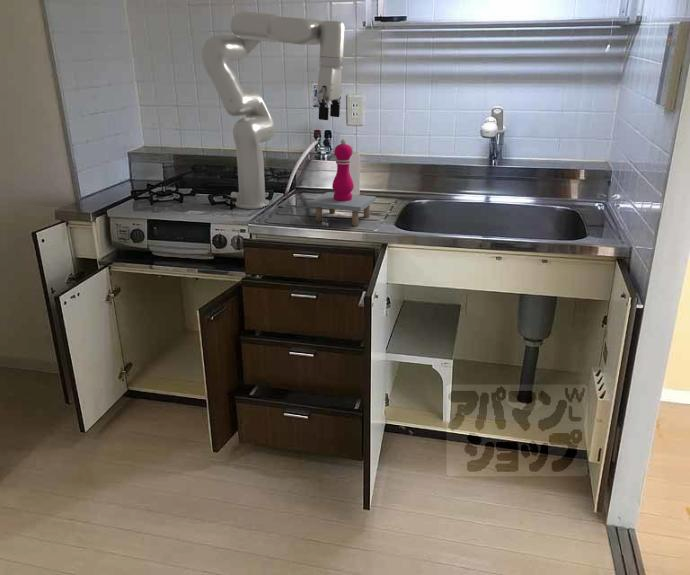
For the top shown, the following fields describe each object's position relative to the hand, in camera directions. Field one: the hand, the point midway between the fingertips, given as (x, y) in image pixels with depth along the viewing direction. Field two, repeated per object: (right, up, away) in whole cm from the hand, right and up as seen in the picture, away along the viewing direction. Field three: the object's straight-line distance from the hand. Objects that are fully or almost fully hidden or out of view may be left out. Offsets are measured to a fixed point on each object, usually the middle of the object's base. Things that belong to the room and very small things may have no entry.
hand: (329, 118), depth 199 cm
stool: (+5, -32, +9) cm, 34 cm away
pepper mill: (+4, -26, +7) cm, 27 cm away
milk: (+7, -25, +28) cm, 38 cm away
